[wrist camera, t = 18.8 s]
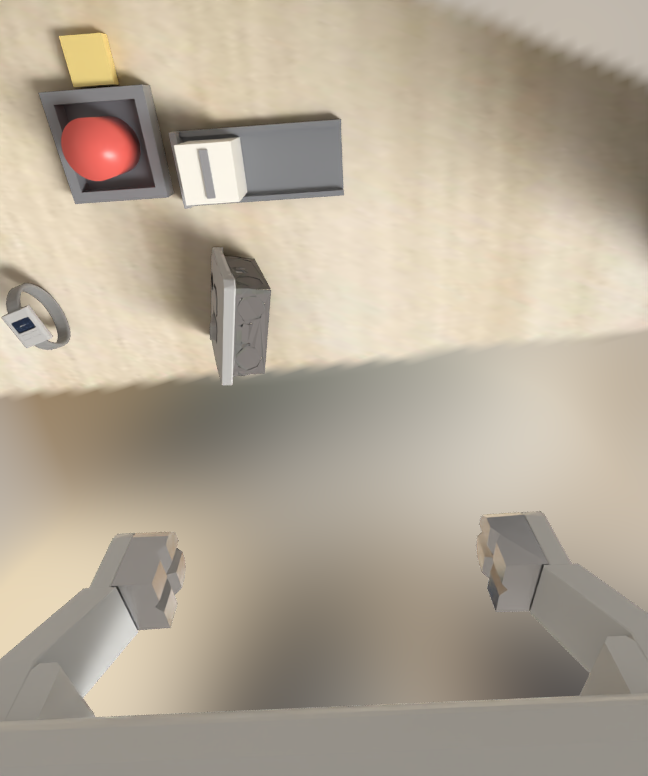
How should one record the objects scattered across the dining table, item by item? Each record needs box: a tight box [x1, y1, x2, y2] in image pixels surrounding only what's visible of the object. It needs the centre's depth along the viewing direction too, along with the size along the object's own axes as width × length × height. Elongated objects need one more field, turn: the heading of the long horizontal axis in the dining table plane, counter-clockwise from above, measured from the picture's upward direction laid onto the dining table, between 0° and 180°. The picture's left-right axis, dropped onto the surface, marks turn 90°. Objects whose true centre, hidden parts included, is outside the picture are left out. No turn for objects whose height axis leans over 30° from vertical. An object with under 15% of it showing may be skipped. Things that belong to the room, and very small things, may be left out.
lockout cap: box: [61, 116, 141, 181], centre depth 34 cm, size 4×4×4 cm
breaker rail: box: [169, 119, 344, 209], centre depth 36 cm, size 13×5×2 cm, turn 94°
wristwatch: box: [1, 283, 70, 350], centre depth 42 cm, size 6×3×5 cm, turn 21°
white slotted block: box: [174, 137, 247, 206], centre depth 35 cm, size 4×4×5 cm
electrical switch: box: [210, 247, 271, 385], centre depth 40 cm, size 9×5×9 cm, turn 172°
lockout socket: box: [39, 33, 174, 204], centre depth 35 cm, size 8×11×2 cm
